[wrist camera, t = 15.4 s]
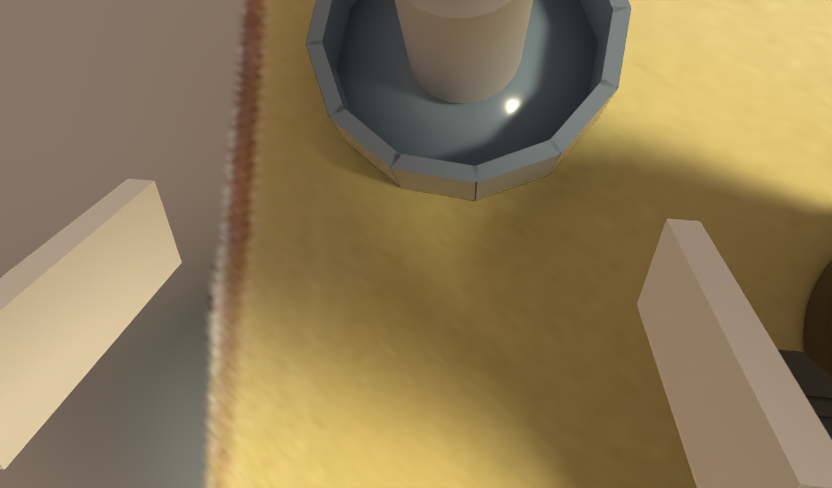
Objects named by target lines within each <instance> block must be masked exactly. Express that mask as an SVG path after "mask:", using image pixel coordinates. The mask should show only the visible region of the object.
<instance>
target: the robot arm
mask: <svg viewBox="0 0 832 488" xmlns="http://www.w3.org/2000/svg"><path fill="white" fill-rule="evenodd" d="M181 263H182V262H181V259H180V256H179V253H178V250H177V247H176V244H175V241H174V237H173V234H172V232H171V228H170V225H169V223H168V219H167V216H166V214H165V210H164V208H163V204H162V201H161V198H160V196H159V192H158V190H157V186H156V183H155V181H153V180H140V179H127V180H126V181H124V182H123V183H122V184H120V185H119V186H118V187H117V188H116V189H114V190H113V191H112V192H110V193H109V194H108V195H106V196H105V197H104V198H102V199H101V200H100V201H99V202H97V203H96V204H95V205H94V206H92V207H91V208H89V209H88V210H87V211H86V212H84V213H83V214H82V215H81V216H79V217H78V218H77V219H75V220H74V221H73V222H72V223H70V224H69V225H68V226H66V227H65V228H64V229H62V230H61V231H60V232H59V233H57V234H56V235H55V236H53V237H52V238H51V239H49V240H48V241H47V242H46V243H44V244H43V245H42V246H40V247H39V248H38V249H37V250H35V251H34V252H33V253H31V254H30V255H29V256H28V257H26V258H25V259H24V260H22V261H21V262H20V263H19V264H18V265H16V266H15V267H13V268H12V269H11V270H10V271H8V272H7V273H6V274H4V275H3V276H1V277H0V469H5V468H6V467H7V466H8V464H10V462H11V461H12V460H13V459H14V458H15V457H16V456H17V454H18V453H19V452H20V451H21V450H22V449H23V447H24V446H25V445H26V444H27V443H28V441H29V440H30V439H31V438H32V437H33V436H34V435H35V433H36V432H37V431H38V430H39V429H40V428H41V426H42V425H43V424H44V423H45V422H46V420H47V419H48V418H49V417H50V416H51V415H52V413H53V412H54V411H55V410H56V409H57V408H58V406H59V405H60V404H61V403H62V402H63V401H64V399H65V398H66V397H67V396H68V395H69V394H70V392H71V391H72V390H73V389H74V388H75V387H76V385H77V384H78V383H79V382H80V381H81V380H82V378H83V377H84V376H85V375H86V374H87V373H88V371H89V370H90V369H91V368H92V367H93V366H94V364H95V363H96V362H97V361H98V360H99V359H100V357H101V356H102V355H103V354H104V353H105V352H106V350H107V349H108V348H109V347H110V346H111V345H112V343H113V342H114V341H115V340H116V339H117V337H118V336H119V335H120V334H121V333H122V332H123V331H124V329H125V328H126V327H127V326H128V325H129V323H130V322H131V321H132V320H133V319H134V318H135V317H136V315H137V314H138V313H139V312H140V310H141V309H142V308H143V307H144V306H145V305H146V304H147V302H148V301H149V300H150V299H151V298H152V297H153V295H154V294H155V293H156V292H157V291H158V289H159V288H160V287H161V286H162V285H163V284H164V283H165V281H166V280H167V279H168V278H169V277H170V276H171V274H172V273H173V272H174V271H175V270H176V269H177V267H178V266H179V265H180V264H181ZM637 307H638V310H639V313H640V316H641V319H642V322H643V325H644V328H645V331H646V334H647V337H648V340H649V344H650V347H651V350H652V353H653V356H654V359H655V362H656V365H657V368H658V371H659V374H660V377H661V380H662V383H663V386H664V389H665V392H666V395H667V399H668V402H669V405H670V408H671V411H672V414H673V417H674V420H675V423H676V426H677V429H678V432H679V435H680V438H681V441H682V444H683V447H684V451H685V454H686V457H687V460H688V463H689V466H690V469H691V472H692V475H693V478H694V481H695V484H696V487H697V488H832V262H831V263H830V264H829V265H828V267H827V268H826V269H825V271H824V272H823V274H822V275H821V277H820V278H819V280H818V282H817V284H816V286H815V288H814V290H813V293H812V295H811V298H810V301H809V304H808V308H807V313H806V319H805V330H804V339H805V352H806V355H805V354H804V353H803V352H796V351H786V350H777V348H776V346H775V345H774V343H773V341H772V340H771V338H770V336H769V335H768V333H767V331H766V330H765V328H764V326H763V325H762V323H761V321H760V320H759V318H758V316H757V315H756V313H755V311H754V310H753V308H752V306H751V305H750V303H749V301H748V300H747V298H746V296H745V295H744V293H743V291H742V290H741V288H740V286H739V285H738V283H737V281H736V280H735V278H734V276H733V275H732V273H731V271H730V270H729V268H728V266H727V265H726V263H725V261H724V260H723V258H722V256H721V255H720V253H719V251H718V250H717V248H716V246H715V245H714V243H713V242H712V240H711V238H710V237H709V235H708V233H707V232H706V230H705V228H704V227H703V225H702V223H701V222H700V221H693V220H680V219H666V222H665V224H664V227H663V230H662V233H661V236H660V239H659V242H658V245H657V248H656V250H655V253H654V256H653V259H652V262H651V265H650V268H649V271H648V274H647V276H646V279H645V282H644V285H643V288H642V291H641V294H640V297H639V299H638V302H637Z"/></svg>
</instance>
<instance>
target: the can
mask: <svg viewBox="0 0 832 488" xmlns="http://www.w3.org/2000/svg"><path fill="white" fill-rule="evenodd" d="M532 3H533V0H395V4H396V8H397V13H398V17H399V21H400V25H401V29H402V34H403V38H404V42H405V46H406V50H407V55H408V59H409V63H410V67H411V71H412V73H413V75H414V76H415V78H416V80H417V81H418V83H419V84H420V86H421V87H423V88H424V89H425V90H426V91H428V92H429V93H430V94H431V95H432V96H434V97H436V98H439V99H442V100H444V101H447V102H450V103H464V104H469V103H473V102H478V101H482V100H486V99H488V98H489V97H491V96H493V95H495V94H496V93H498V92H500V91H501V90H502V89H503V88H504V87H505V86H506V85H507V84H508V83H509V82H510V81H511V80H512V78H513V77H514V76H515V73H516V71H517V69H518V67H519V64H520V62H521V59H522V54H523V49H524V44H525V39H526V34H527V28H528V23H529V18H530V13H531V8H532Z"/></svg>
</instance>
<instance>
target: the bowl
mask: <svg viewBox="0 0 832 488" xmlns="http://www.w3.org/2000/svg"><path fill="white" fill-rule="evenodd" d="M630 7H631V6H630V3H629V1H628V0H533V3H532V8H531V13H530V18H529V23H528V28H527V34H526V39H525V44H524V49H523V54H522V59H521V62H520V64H519V67H518V69H517V71H516V73H515V76H514V77H513V78H512V80H511V81H510V82H509V83H508V84H507V85H506V86H505V87H504V88H503V89H502V90H501V91H500V92H498V93H496V94H495V95H493V96H491V97H489V98H488V99H486V100H482V101H478V102H473V103H469V104H464V103H450V102H447V101H444V100H442V99H439V98H436V97H434V96H432V95H431V94H430V93H429V92H428V91H426V90H425V89H424V88H423V87H421V86H420V84H419V83H418V81H417V80H416V78H415V76H414V75H413V73H412V71H411V67H410V63H409V59H408V55H407V50H406V46H405V42H404V38H403V34H402V29H401V25H400V21H399V17H398V13H397V8H396V4H395V0H316V4H315V8H314V12H313V16H312V20H311V24H310V28H309V32H308V36H307V40H306V46H307V50H308V53H309V56H310V59H311V62H312V65H313V68H314V71H315V74H316V78H317V81H318V84H319V87H320V90H321V93H322V96H323V99H324V103H325V106H326V109H327V112H328V115H329V117H330V118H331V120H332V121H333V123H334V124H335V126H336V127H337V129H338V130H339V132H340V133H341V135H342V136H343V137H344V139H345V140H346V142H347V143H348V144H349V145H350V146H352V147H353V148H354V149H355V150H356V151H358V152H359V153H360V154H361V155H362V156H363V157H365V158H366V159H367V160H368V161H369V162H371V163H372V164H373V165H374V166H375V167H376V168H378V169H379V170H380V171H381V172H382V173H384V174H385V175H386V176H387V177H388V178H389V179H391V180H392V181H393V182H394V183H395V184H396V185H398V186H399V187H401V188H403V189H409V190H415V191H420V192H426V193H432V194H437V195H443V196H449V197H454V198H460V199H466V200H472V201H474V200H476V201H477V200H480V199H483V198H485V197H488V196H491V195H494V194H497V193H500V192H503V191H506V190H508V189H511V188H514V187H517V186H520V185H523V184H526V183H529V182H531V181H534V180H537V179H540V178H543V177H546V176H548V175H549V174H550V173H551V172H552V171H553V170H554V169H555V167H556V166H557V165H558V164H559V163H560V162H561V161H562V159H563V158H564V157H565V156H566V155H567V154H568V152H569V151H570V150H571V149H572V148H573V147H574V146H575V144H576V143H577V142H578V141H579V140H580V139H581V138H582V136H583V135H584V134H585V133H586V132H587V131H588V130H589V128H590V127H591V126H592V125H593V124H594V123H595V122H596V120H597V119H598V118H599V116H600V115H601V113H602V112H603V110H604V109H605V107H606V106H607V104H608V103H609V101H610V100H611V98H612V97H613V95H614V94H615V92H616V91H617V89H618V87H619V80H620V74H621V68H622V62H623V55H624V49H625V43H626V37H627V31H628V24H629V18H630V12H631V8H630Z"/></svg>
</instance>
